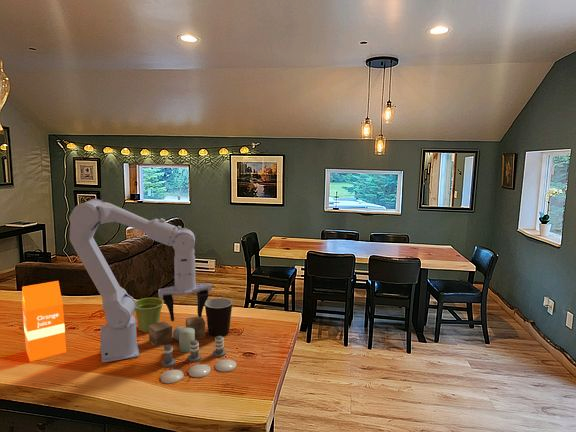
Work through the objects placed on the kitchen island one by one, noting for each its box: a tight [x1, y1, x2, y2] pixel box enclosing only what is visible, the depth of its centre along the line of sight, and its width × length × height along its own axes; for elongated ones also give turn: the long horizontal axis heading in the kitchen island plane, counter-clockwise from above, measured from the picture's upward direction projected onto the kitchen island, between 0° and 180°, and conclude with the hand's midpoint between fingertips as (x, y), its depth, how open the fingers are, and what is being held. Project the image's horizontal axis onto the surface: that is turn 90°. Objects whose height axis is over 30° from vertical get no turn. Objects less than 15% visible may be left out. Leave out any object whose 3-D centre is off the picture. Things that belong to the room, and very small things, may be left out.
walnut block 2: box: [185, 315, 206, 340], centre depth 123 cm, size 5×5×5 cm
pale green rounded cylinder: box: [178, 327, 196, 353], centre depth 114 cm, size 4×4×6 cm
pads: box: [159, 358, 237, 384], centre depth 103 cm, size 20×6×1 cm, turn 114°
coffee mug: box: [204, 297, 233, 338], centre depth 126 cm, size 12×9×10 cm
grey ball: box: [172, 326, 185, 341], centre depth 120 cm, size 4×4×4 cm
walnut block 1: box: [148, 320, 173, 348], centre depth 118 cm, size 5×5×5 cm
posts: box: [161, 336, 227, 368], centre depth 109 cm, size 18×4×5 cm, turn 114°
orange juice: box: [21, 280, 67, 363], centre depth 110 cm, size 8×9×20 cm
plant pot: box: [134, 297, 164, 333], centre depth 126 cm, size 9×9×9 cm
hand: (186, 317), depth 113 cm, fingers open, 7 cm apart
